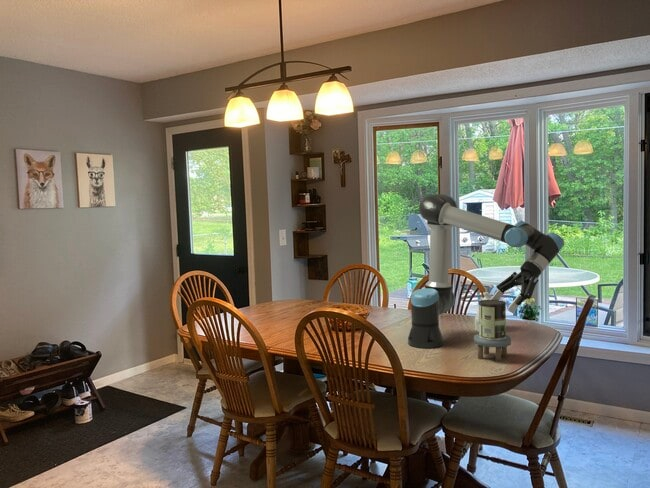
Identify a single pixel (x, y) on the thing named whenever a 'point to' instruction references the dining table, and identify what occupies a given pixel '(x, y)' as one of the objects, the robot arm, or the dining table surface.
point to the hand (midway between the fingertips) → (500, 307)
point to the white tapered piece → (487, 297)
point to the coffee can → (492, 319)
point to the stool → (499, 344)
